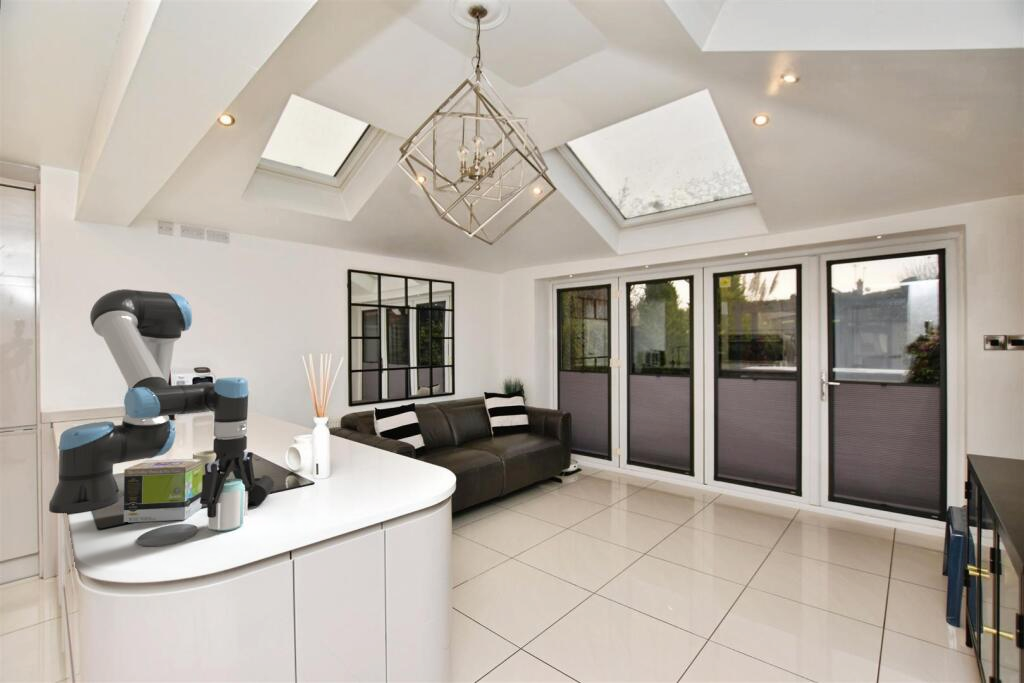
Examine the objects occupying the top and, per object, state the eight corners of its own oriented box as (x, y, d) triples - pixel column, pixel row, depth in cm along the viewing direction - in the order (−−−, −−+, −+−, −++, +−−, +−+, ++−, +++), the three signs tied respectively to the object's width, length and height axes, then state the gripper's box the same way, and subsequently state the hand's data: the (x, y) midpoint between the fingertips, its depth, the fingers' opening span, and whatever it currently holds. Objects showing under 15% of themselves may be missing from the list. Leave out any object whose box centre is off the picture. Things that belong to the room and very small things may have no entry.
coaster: (123, 544, 108) (123, 541, 108) (169, 524, 120) (169, 522, 120) (166, 549, 106) (167, 546, 106) (209, 528, 118) (209, 526, 118)
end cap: (265, 506, 134) (266, 484, 134) (239, 508, 132) (239, 485, 132) (273, 495, 144) (274, 474, 144) (248, 497, 142) (249, 475, 142)
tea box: (202, 507, 132) (204, 457, 132) (184, 521, 122) (185, 467, 122) (145, 510, 130) (146, 458, 130) (121, 524, 120) (122, 468, 120)
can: (206, 531, 116) (207, 485, 116) (224, 521, 123) (225, 477, 123) (232, 533, 116) (233, 486, 116) (249, 522, 123) (250, 478, 123)
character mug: (227, 488, 150) (228, 449, 150) (221, 495, 143) (222, 454, 143) (189, 491, 146) (190, 451, 146) (181, 498, 139) (182, 456, 139)
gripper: (209, 446, 108) (207, 540, 108) (271, 429, 129) (269, 508, 129) (182, 444, 109) (180, 537, 109) (247, 428, 131) (246, 506, 130)
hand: (228, 521), depth 119 cm, fingers open, 9 cm apart
